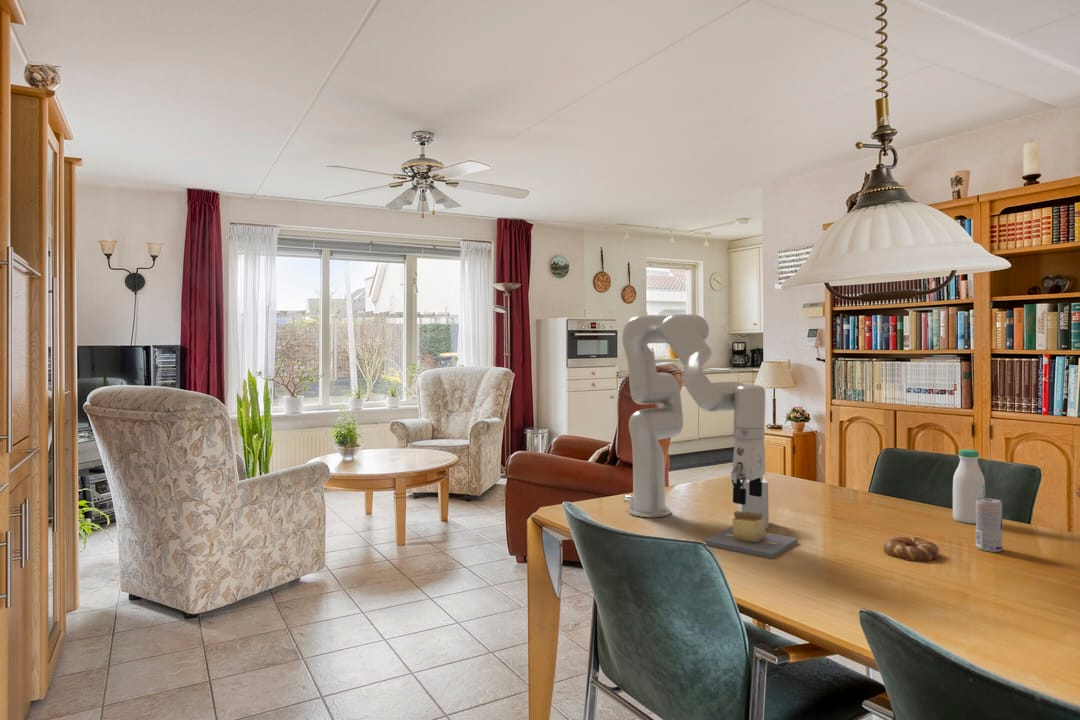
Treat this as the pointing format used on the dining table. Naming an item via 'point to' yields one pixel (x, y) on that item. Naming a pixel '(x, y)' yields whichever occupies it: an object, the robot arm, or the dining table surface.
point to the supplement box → (757, 502)
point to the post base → (752, 544)
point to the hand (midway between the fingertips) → (747, 499)
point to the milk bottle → (967, 487)
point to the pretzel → (911, 548)
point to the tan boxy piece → (748, 526)
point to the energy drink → (989, 524)
